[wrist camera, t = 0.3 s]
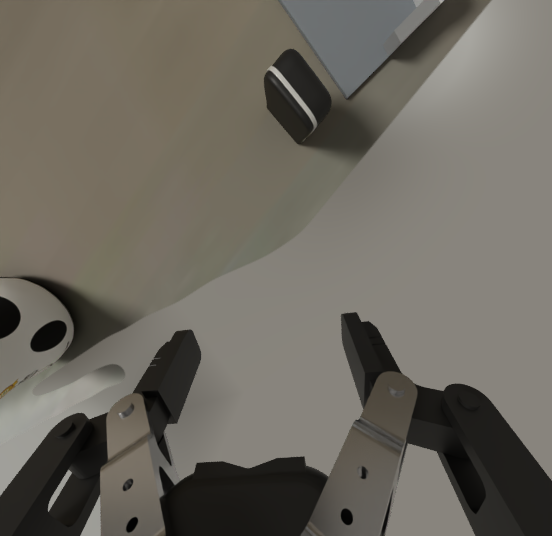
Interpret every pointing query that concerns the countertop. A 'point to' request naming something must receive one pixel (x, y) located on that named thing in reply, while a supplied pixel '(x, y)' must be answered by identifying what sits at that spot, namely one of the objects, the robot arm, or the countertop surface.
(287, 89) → the black rounded block
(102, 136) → the countertop surface
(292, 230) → the countertop surface
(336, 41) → the bracket
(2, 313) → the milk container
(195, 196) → the countertop surface
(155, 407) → the robot arm
